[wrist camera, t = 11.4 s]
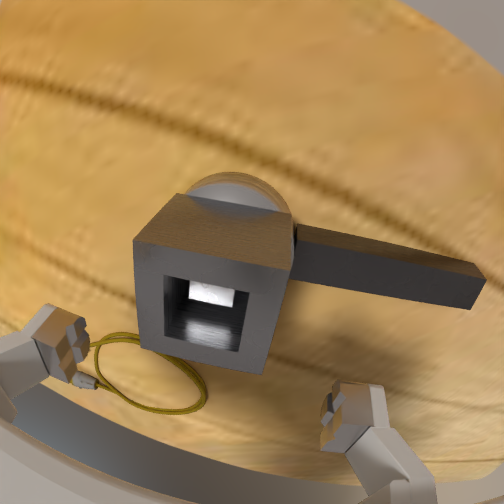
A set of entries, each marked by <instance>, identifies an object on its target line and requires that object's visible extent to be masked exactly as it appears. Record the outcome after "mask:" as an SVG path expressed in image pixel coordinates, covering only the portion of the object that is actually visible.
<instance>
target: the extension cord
mask: <svg viewBox="0 0 504 504" xmlns="http://www.w3.org/2000/svg"><path fill="white" fill-rule="evenodd" d="M116 336H127V337H132V338H136V339H139V340H140V337H139V335H137V334H133V333H127V332H116V333H112V334H109V335H107V336H105V337H103V338H102V339H101V340H100V341H99V342H94V343H90V347H94V346H96V349H95V354H94V362H95V369H96V372H97V374H98V376H99V377H100V379H101V380H102V381H103V382H104V383H105V384H106V385H107V386H108V387H109V388H108V387H106V386H103V385H101V384H99V381H98V380H97V379H95V378H93V377H91V376H89V375H88V374H85V373H83V372H81V371H77V372H76V373H75V375H74V376H73V378H72V380H71V381H70V383H72V385H74V386H77V387H79V388H85V389H94V390H96V389H97V388H98V387H100V388H103V389H105V390H108V391H110V392H113V393H115V394H117V395H119V396H120V397H121V398H122V399H124V400H125V401H126V402H128V403H129V404H131V405H133V406H135V407H137V408H140V409H142V410H145V411H149V412H153V413H158V414H167V415H182V414H188V413H192V412H195V411H197V410H199V409H201V408H202V407H203V406H204V404H205V402H206V387H205V384H204V382H203V380H202V379H201V377H200V376H199V375H198V374H197V372H196V371H195V370H194V369H192V368H191V367H190V366H189V365H188V364H186V363H185V362H184V361H183V360H181V359H180V358H178V357H174V356H170V355H166V354H162V353H159V352H155V351H153V352H155V353H157V354H159V355H160V356H162V357H164V358H165V359H167V360H168V361H170V362H172V363H173V364H174V365H176V366H177V367H178V368H180V369H181V370H182V371H183V372H184V373H186V374H187V375H188V376H189V377H190V378H191V379H192V380H193V381H194V383H195V384H196V385H197V386H198V388H199V390H200V392H201V394H202V396H201V398H200V399H199V401H198V402H197V403H196V404H194V405H193V406H191V407H188V408H185V409H161V408H154V407H147V406H144V405H141V404H139V403H137V402H135V403H136V404H135V403H133V402H134V401H133V402H132V401H130V400H129V399H127V398H126V397H125V396H123V395H122V394H121V393H120V392H118V391H117V390H116V389H115V388H114V387H112V386H111V385H110V384H109V383H108V382H107V381H106V380H105V379H104V378H103V377H102V375H101V373H100V371H99V368H98V350H99V348H100V346H101V345H103V344H108V343H114V342H128V343H135V344H138V345H140V341H139V340H135V339H129V338H114V339H109V338H111V337H116ZM107 339H108V340H107ZM177 361H178V362H179V363H178V362H177ZM181 364H182V365H183V366H182V365H181ZM187 369H188V370H189V371H188V370H187ZM195 377H196V378H197V379H198V380H197V379H196V378H195ZM137 404H138V405H137ZM198 405H199V406H198ZM153 409H155V410H153ZM158 410H161V411H158ZM168 411H169V412H168Z"/></svg>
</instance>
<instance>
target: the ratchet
mask: <svg viewBox="0 0 504 504" xmlns="http://www.w3.org/2000/svg"><path fill="white" fill-rule="evenodd" d="M185 195H191V196H197V197H203V198H208V199H214V200H220V201H226V202H231V203H237V204H242V205H248V206H253V207H258V208H264V209H269V210H274V211H279V212H284V213H290V214H291V212H290V210H289V207H288V205H287V204H286V202H285V200H284V199H283V198H282V196H281V195H280V194H279V193H278V192H277V191H276V190H275V189H274V188H273V187H272V186H270V185H269V184H267V183H266V182H264V181H263V180H261V179H259V178H257V177H254V176H251V175H248V174H244V173H238V172H222V173H216V174H213V175H210V176H207V177H205V178H203V179H201V180H199V181H198V182H196V183H195V184H194V185H193V186H191V187H190V188H189V189H188V190H187V191H186V192H185ZM288 279H294V280H299V281H304V282H310V283H315V284H321V285H326V286H332V287H337V288H343V289H348V290H354V291H360V292H365V293H371V294H377V295H383V296H388V297H394V298H400V299H406V300H412V301H418V302H424V303H430V304H436V305H442V306H448V307H454V308H461V309H467V310H471V308H472V306H473V304H474V303H475V301H476V299H477V297H478V295H479V294H480V292H481V290H482V288H483V286H484V284H485V282H486V280H487V279H486V278H485V277H484V275H483V274H482V273H481V272H480V270H479V269H478V268H477V266H476V265H475V264H474V263H471V262H467V261H463V260H459V259H455V258H451V257H447V256H442V255H438V254H434V253H430V252H426V251H422V250H417V249H413V248H409V247H404V246H400V245H396V244H391V243H387V242H382V241H378V240H373V239H369V238H364V237H360V236H355V235H350V234H346V233H341V232H336V231H331V230H327V229H322V228H317V227H312V226H307V225H302V224H297V226H296V230H295V235H294V224H293V219H292V215H291V270H290V275H289V278H288ZM236 291H237V290H234V289H229V288H224V287H219V286H214V285H210V284H205V283H200V282H195V281H190V289H189V298H190V299H194V300H199V301H204V302H208V303H213V304H218V305H223V306H228V307H232V306H233V302H234V298H235V294H236Z"/></svg>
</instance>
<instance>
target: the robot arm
mask: <svg viewBox="0 0 504 504" xmlns="http://www.w3.org/2000/svg"><path fill="white" fill-rule="evenodd" d="M86 326H87V325H86V321H85V318H83V317H81V316H78V315H76V314H73V313H71V312H68V311H66V310H63V309H61V308H59V307H56V306H54V305H51V304H49V303H48V304H45V305H44V306H43V307H42V308H41V309H40V310H39V311H38V312H37V313H36V315H35V316H34V317H33V318H32V319H31V320H30V321H29V322H28V324H27V325H26V326H25V327H24V328H23V329H22V331H21V332H18V331H16V332H13V333H11V334H8V335H6V336H3V337H1V338H0V504H197V503H193V502H189V501H185V500H181V499H178V498H174V497H171V496H167V495H164V494H161V493H157V492H154V491H151V490H148V489H145V488H142V487H139V486H136V485H133V484H131V483H128V482H125V481H123V480H120V479H118V478H115V477H113V476H110V475H108V474H105V473H103V472H100V471H98V470H96V469H94V468H91V467H89V466H87V465H85V464H83V463H80V462H78V461H76V460H74V459H72V458H70V457H68V456H66V455H64V454H62V453H60V452H58V451H56V450H54V449H53V448H51V447H49V446H47V445H45V444H43V443H42V442H40V441H38V440H36V439H35V438H33V437H31V436H30V435H28V434H26V433H25V432H23V431H21V430H20V429H18V428H17V427H15V426H14V425H12V424H11V423H12V421H13V420H14V418H15V416H16V414H17V410H16V408H15V407H14V405H13V404H12V402H11V401H10V400H11V399H13V398H15V397H16V396H18V395H20V394H21V393H23V392H24V391H26V390H28V389H29V388H31V387H33V386H34V385H36V384H38V383H39V382H41V381H43V380H44V379H46V378H48V377H49V375H50V376H52V377H54V378H57V379H59V380H61V381H63V382H66V383H68V384H69V383H70V381H71V380H72V378H73V376H74V375H75V373H76V372H77V370H78V369H77V363H80V362H82V361H84V359H85V358H86V356H87V354H88V351H89V348H90V338H89V335H88V333H87V332H86V331H85V330H84V329H85V327H86ZM321 423H322V424H323V426H324V429H323V430H322V432H321V433H320V451H327V452H337V453H345V456H346V458H347V460H348V461H349V463H350V465H351V467H352V468H353V470H354V472H355V474H356V475H357V477H358V479H359V480H360V482H361V484H362V486H363V487H364V489H365V491H366V492H367V494H368V496H369V497H368V498H366V499H364V500H363V501H361V502H360V503H358V504H437V496H436V488H435V480H434V476H433V475H432V473H431V472H430V471H429V470H428V469H427V467H426V466H425V465H424V464H423V462H422V461H421V460H420V459H419V458H418V456H417V455H416V454H415V453H414V451H413V450H412V449H411V448H410V447H409V445H408V444H407V443H406V442H405V441H404V439H403V438H402V437H401V436H400V434H399V433H398V432H397V431H396V430H395V428H390V423H389V416H388V410H387V404H386V398H385V392H384V387H383V386H382V385H376V384H366V383H360V382H351V381H343V380H337V381H335V383H334V384H333V386H332V393H330V394H328V395H327V396H326V398H325V400H324V402H323V405H322V409H321ZM476 504H504V495H503V496H500V497H497V498H493V499H490V500H487V501H483V502H480V503H476Z"/></svg>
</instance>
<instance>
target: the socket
mask: <svg viewBox="0 0 504 504" xmlns="http://www.w3.org/2000/svg"><path fill="white" fill-rule="evenodd" d="M133 260H134V279H135V293H136V306H137V317H138V327H139V337H140V346H141V348H144V349H147V350H151V351H155V352H159V353H162V354H166V355H170V356H174V357H178V358H182V359H186V360H191V361H195V362H199V363H204V364H208V365H213V366H218V367H222V368H227V369H232V370H237V371H242V372H248V373H253V374H259V375H262V372H263V369H264V365H265V362H266V359H267V355H268V352H269V348H270V345H271V341H272V338H273V334H274V330H275V327H276V323H277V320H278V316H279V312H280V309H281V305H282V301H283V297H284V294H285V290H286V286H287V282H288V278H289V275H290V270H291V214H290V213H284V212H279V211H274V210H269V209H264V208H258V207H253V206H248V205H242V204H237V203H231V202H226V201H220V200H214V199H208V198H203V197H197V196H191V195H185V194H179V193H176V194H175V195H174V196H173V197H172V198H171V199H170V201H169V202H168V203H167V204H166V205H165V206H164V207H163V208H162V209H161V210H160V211H159V212H158V213H157V214H156V215H155V216H154V217H153V218H152V219H151V220H150V222H149V223H148V224H147V225H146V226H145V227H144V228H143V229H142V230H141V231H140V232H139V234H138V235H137V236H136V237H135V238H134V239H133ZM190 281H195V282H200V283H205V284H210V285H214V286H219V287H224V288H229V289H234V290H237V291H236V294H235V298H234V302H233V306H232V307H228V306H223V305H218V304H213V303H208V302H204V301H199V300H194V299H190V298H189V289H190Z"/></svg>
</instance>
